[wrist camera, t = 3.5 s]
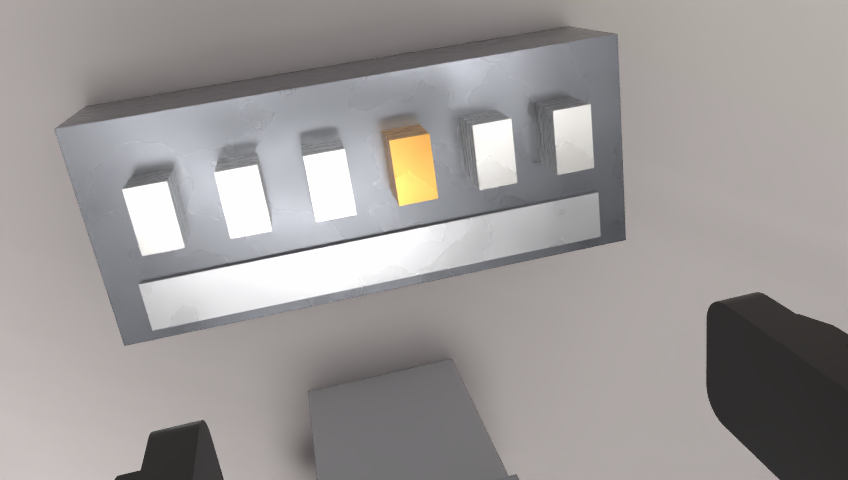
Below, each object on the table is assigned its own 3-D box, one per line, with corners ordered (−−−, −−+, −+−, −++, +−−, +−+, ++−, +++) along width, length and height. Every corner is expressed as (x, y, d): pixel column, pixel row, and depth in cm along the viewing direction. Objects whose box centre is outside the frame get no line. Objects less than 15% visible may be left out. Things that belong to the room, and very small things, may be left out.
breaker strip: (568, 26, 27) (639, 37, 22) (580, 206, 29) (646, 254, 24) (86, 106, 24) (39, 139, 19) (143, 295, 27) (115, 369, 22)
